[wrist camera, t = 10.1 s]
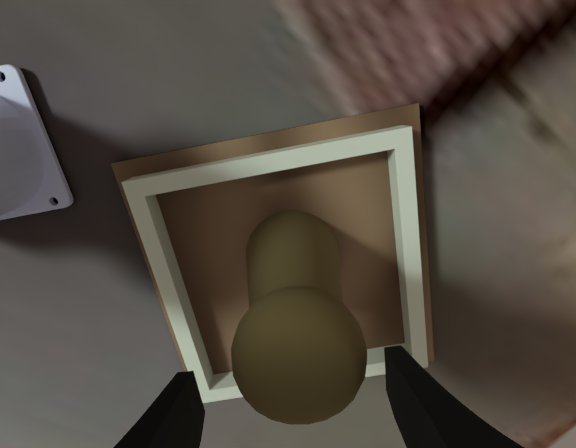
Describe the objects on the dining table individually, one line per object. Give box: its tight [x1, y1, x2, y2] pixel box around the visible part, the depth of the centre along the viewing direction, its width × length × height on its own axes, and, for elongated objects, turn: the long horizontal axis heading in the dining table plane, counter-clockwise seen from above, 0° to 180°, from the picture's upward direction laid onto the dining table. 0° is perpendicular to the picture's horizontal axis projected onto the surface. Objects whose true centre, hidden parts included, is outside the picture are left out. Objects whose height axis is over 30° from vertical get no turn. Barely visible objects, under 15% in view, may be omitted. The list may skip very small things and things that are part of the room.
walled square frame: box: [121, 125, 428, 403], centre depth 22 cm, size 16×16×2 cm
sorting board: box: [111, 103, 434, 374], centre depth 23 cm, size 18×18×1 cm
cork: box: [231, 211, 367, 424], centre depth 17 cm, size 6×6×11 cm
